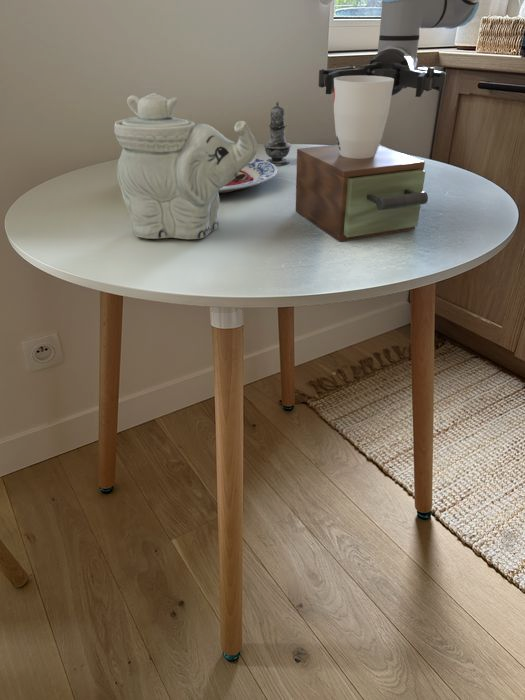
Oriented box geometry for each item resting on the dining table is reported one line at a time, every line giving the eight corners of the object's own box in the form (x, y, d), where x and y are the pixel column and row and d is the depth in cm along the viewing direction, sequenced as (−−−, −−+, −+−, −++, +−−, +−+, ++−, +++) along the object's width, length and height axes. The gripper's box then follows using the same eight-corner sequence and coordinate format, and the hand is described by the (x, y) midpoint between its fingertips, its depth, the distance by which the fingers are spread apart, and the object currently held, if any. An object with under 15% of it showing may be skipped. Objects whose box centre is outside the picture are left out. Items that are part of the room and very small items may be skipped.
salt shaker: (273, 157, 119) (273, 98, 113) (296, 161, 117) (297, 100, 110) (258, 163, 115) (257, 102, 109) (281, 167, 113) (281, 104, 106)
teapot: (262, 232, 80) (260, 93, 70) (179, 261, 71) (164, 106, 61) (193, 208, 90) (183, 82, 80) (114, 230, 81) (91, 93, 71)
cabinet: (415, 229, 81) (425, 161, 75) (339, 241, 77) (344, 171, 71) (363, 201, 92) (369, 141, 87) (295, 211, 88) (296, 148, 83)
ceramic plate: (274, 163, 115) (274, 149, 113) (281, 200, 93) (281, 183, 92) (152, 166, 114) (150, 151, 113) (130, 203, 93) (128, 186, 91)
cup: (352, 146, 84) (357, 74, 79) (396, 154, 79) (405, 78, 74) (318, 154, 79) (321, 79, 74) (363, 164, 74) (370, 83, 69)
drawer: (435, 236, 76) (445, 178, 71) (363, 248, 72) (369, 188, 68) (368, 200, 90) (373, 150, 85) (305, 209, 86) (306, 158, 82)
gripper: (457, 96, 97) (455, 115, 80) (321, 92, 104) (292, 109, 87) (465, 48, 93) (464, 58, 76) (323, 47, 100) (293, 56, 83)
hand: (372, 85), depth 82 cm, fingers open, 13 cm apart
